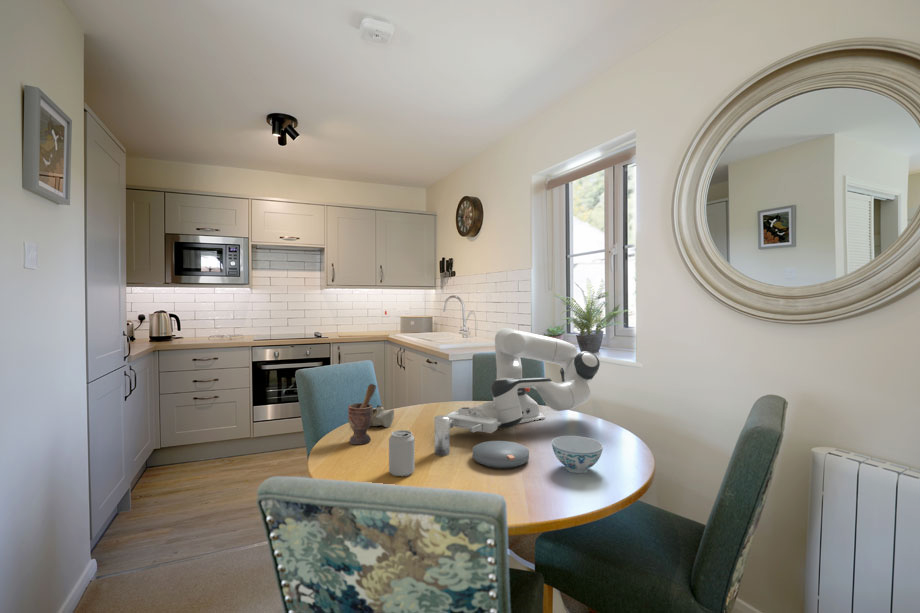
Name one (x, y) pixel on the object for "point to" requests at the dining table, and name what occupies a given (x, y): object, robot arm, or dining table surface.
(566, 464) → the chinaware
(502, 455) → the disc
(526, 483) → the dining table surface
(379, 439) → the dining table surface
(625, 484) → the dining table surface
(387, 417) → the ceramic sculpture
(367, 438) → the mortar and pestle
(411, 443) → the can
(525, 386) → the robot arm
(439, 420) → the clear drinking glass
